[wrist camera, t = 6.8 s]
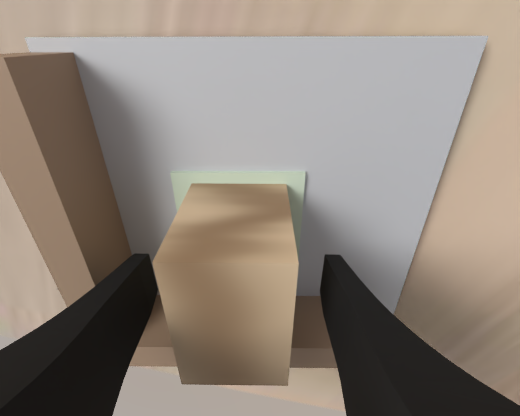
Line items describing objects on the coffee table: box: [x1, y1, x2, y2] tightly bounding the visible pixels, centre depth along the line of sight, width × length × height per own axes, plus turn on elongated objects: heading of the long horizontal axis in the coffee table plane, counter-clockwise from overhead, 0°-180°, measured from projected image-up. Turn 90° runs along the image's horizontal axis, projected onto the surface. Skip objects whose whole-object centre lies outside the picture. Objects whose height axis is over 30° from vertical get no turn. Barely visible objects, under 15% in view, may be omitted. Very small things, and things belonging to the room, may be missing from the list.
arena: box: [0, 36, 488, 368], centre depth 12 cm, size 16×14×4 cm
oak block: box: [152, 183, 299, 386], centre depth 12 cm, size 4×6×5 cm, turn 0°
